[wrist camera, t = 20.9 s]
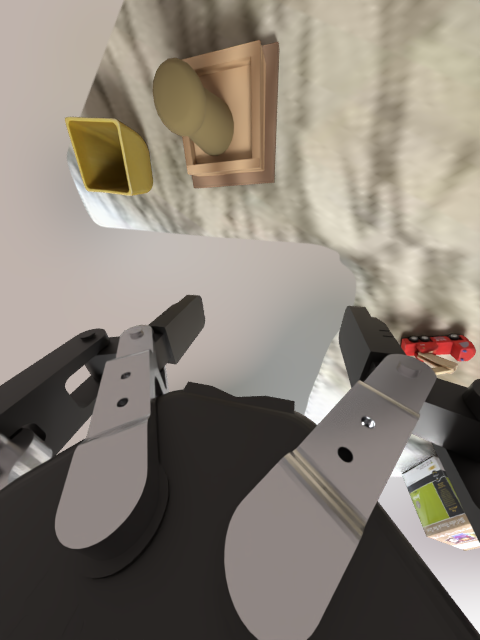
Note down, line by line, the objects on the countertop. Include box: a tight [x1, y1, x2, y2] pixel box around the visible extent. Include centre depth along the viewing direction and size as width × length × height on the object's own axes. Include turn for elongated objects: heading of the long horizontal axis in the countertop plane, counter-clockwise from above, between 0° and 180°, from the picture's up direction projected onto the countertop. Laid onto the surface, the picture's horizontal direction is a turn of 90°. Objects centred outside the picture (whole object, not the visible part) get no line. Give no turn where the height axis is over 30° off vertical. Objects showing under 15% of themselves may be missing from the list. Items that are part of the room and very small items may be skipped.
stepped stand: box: [182, 40, 279, 188], centre depth 28 cm, size 14×14×6 cm
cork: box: [153, 58, 234, 156], centre depth 23 cm, size 6×6×11 cm
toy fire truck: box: [401, 334, 476, 375], centre depth 36 cm, size 3×14×10 cm, turn 106°
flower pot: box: [65, 117, 153, 196], centre depth 32 cm, size 9×9×9 cm
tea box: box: [402, 456, 480, 551], centre depth 54 cm, size 15×10×15 cm
